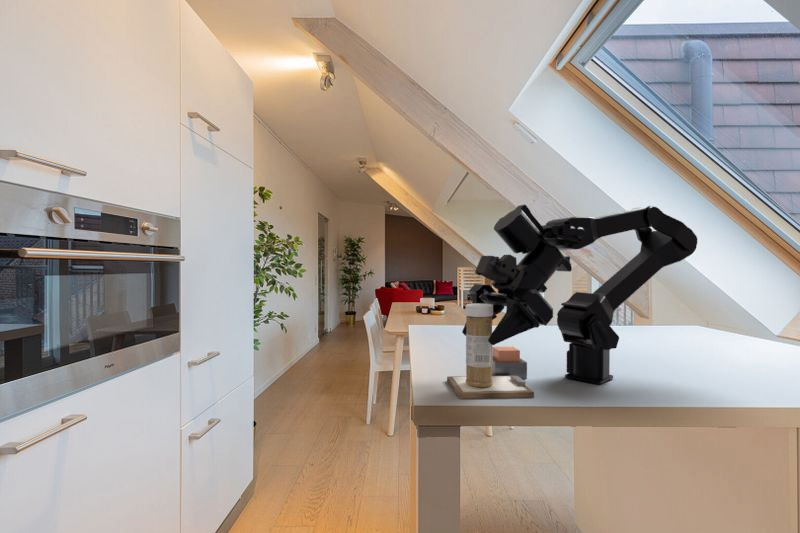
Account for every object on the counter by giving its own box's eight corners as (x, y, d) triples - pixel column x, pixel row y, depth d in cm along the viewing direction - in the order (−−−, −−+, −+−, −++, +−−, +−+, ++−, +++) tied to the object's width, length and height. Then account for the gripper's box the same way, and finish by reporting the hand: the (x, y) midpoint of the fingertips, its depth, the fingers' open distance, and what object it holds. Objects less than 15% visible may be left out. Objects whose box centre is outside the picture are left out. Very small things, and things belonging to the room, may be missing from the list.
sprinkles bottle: (493, 381, 77) (493, 303, 77) (492, 388, 72) (492, 305, 72) (466, 380, 78) (466, 302, 78) (463, 387, 73) (464, 304, 73)
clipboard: (512, 379, 81) (512, 371, 81) (533, 397, 71) (534, 387, 71) (447, 380, 80) (447, 372, 80) (459, 398, 70) (459, 388, 70)
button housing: (515, 370, 88) (516, 355, 88) (526, 378, 82) (527, 362, 82) (486, 371, 88) (486, 355, 88) (495, 379, 82) (495, 362, 82)
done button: (512, 361, 87) (512, 346, 87) (519, 366, 83) (519, 350, 83) (492, 362, 87) (492, 346, 87) (498, 366, 83) (498, 350, 83)
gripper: (478, 241, 86) (424, 301, 82) (537, 236, 68) (471, 311, 64) (514, 282, 88) (463, 341, 85) (579, 287, 70) (518, 362, 67)
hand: (476, 338), depth 75 cm, fingers open, 9 cm apart
